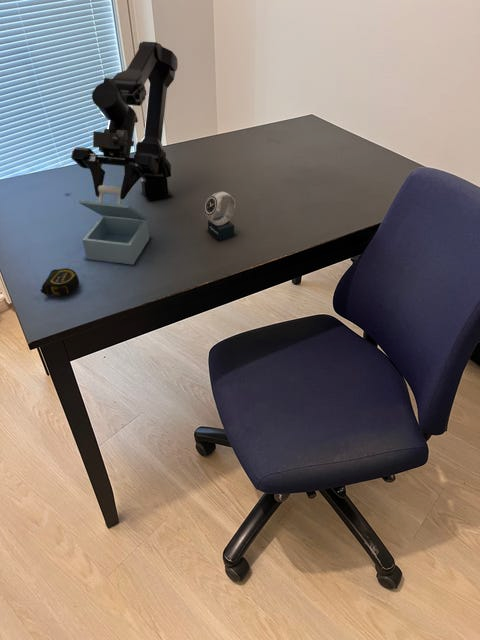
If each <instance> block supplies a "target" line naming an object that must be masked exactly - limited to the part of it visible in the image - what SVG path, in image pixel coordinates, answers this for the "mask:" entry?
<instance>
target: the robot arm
mask: <svg viewBox="0 0 480 640" xmlns="http://www.w3.org/2000/svg"><path fill="white" fill-rule="evenodd" d="M177 71H178V57H177V56H176V53H174V51H172V50H170V49H168V48H166V47H164V46H163V45H162V44H161V43H159V42H156V41H142V42H139V44H138V50H137V51H136V53H135V55H134V56H133V58H132V60H131V61H130V63H129V65H128V66H127V68H126V69H125V70H123V71H119V72H117V73H116V74H115V75H114V76H113V77H104V78H103V82H101V83H99V84H98V85H97V86H96V87H95V88H94V89H93V91H92V93H91V94H92V95H91V99H92V102H93V104H94V105H95V106H96V107H97V109H98V110H99V111H100V113H101V114H102V115H103V117H105V119H106V120H108V125H107V128H105V129H104V130H103V131H93V132H92V147H93V148H98V151H99V152H100V153H102V154H96V153H95V152H94V151H93V150H92V149H91V148H88V147H78V146H76V147H74V148H73V149H72V151H71V155H70V158H71V160H72V161H74V162H75V163H76V164H77V165H78V166H80V168H82V169H86V170H90V174H91V177H92V181H93V187H94V189H93V190H94V194H95V196H96V197H97V198H99V192H98V187H99V185H103V186H104V180H105V175H106V171H105V170H104V169H103V168H102V167H103V165H108V166H118V167H119V166H120V167H123V170H124V175H123V179H122V184H121V187H122V188H121V195H120V198H121V199H122V200H124V199H126V197H127V195H128V194H129V193H130V191H131V190H132V188H133V187H134V186H135V185H136V183H138V181H139V180H140V183H141V193H142V194H143V196H145V198H147V200H148V201H150V202H154V201H158V200H161V199H166V198H170V197H171V196H172V194H171V193H170V192H169V185H168V178H170V177H172V165H171V163H170V161H169V159H168V158H167V152H166V150H165V148H164V146H163V143H162V140H163V130H164V122H165V121H164V120H165V112H166V103H167V102H166V101H167V94H168V93H167V92H168V88H169V87H170V85H172V84H173V82H174V80H175V77H176V72H177ZM147 80H148V82H149V85H148V86H149V87H148V95H147V90H146V86H145V85H146V82H147ZM146 97H147V107H146V114H145V115H146V116H145V125H144V136H143V138H142V139H141V141H137V143H136V144H135V142H134V139H133V138H134V132H135V126H136V123H138V122H139V119H138V116H137V112H136V111H135V110H134V109H133V107H132V106H134V107H135V106H137V107H140V106H142V105H143V104H144V102H145V100H146ZM134 145H135V153H134V155H133V157H131V150H132V147H134ZM141 178H142V179H141Z"/></svg>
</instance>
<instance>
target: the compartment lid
mask: <svg viewBox="0 0 480 640" xmlns="http://www.w3.org/2000/svg"><path fill="white" fill-rule="evenodd" d="M121 188H122V186H112V185H104V184H103V185H99V187H98V192H99V197H98V200H97V201H96V200H95V201H94V200H86V199H79V200H78V203H79V204H80V205H82V206H83V207H85V208H88V209H89V210H91V211H92V212H94V213H97V214H98V215H100V216H101V217H102V216H109V217H119V218H128V219H137V220H146V221H148V220H147V219H148V217H147V216H145V215H143V214H142V213H141V212H139V211H138V210H137V209H136V208H134V207H132V206H130V205H129V204H122V200H123V199H121V198H120V195H121ZM104 195H113V196H117V200H116V203H113V202H105V201H104V202H103V199H104Z"/></svg>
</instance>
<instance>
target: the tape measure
mask: <svg viewBox="0 0 480 640" xmlns="http://www.w3.org/2000/svg"><path fill="white" fill-rule="evenodd" d="M79 285H80V279H79V276H78V274H77V272H76V271H75V270H73V269H72V268H67V267H65V268H57V269H52V270H50V272H49V275H48V276H47V278H46V279H45V281H44V282H43V284H42V286H41V288H40V292H41V294H44V295H45V296H50V297H51V296H53V295H54V296H56V297H63V296H68V295H71V294H73V293H74V292H75V291H77V290H78V288H79Z"/></svg>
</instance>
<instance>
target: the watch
mask: <svg viewBox="0 0 480 640" xmlns="http://www.w3.org/2000/svg"><path fill="white" fill-rule="evenodd" d="M225 197H228V198H229V203H228V204H227V208H226V210H225V212H224V214H223V215H220V216H217V215H218V214H219V213H220V212H221V206H222V201H223V198H225ZM235 199H236V198H234V197H233V196H232V195H231V194H230V193H228V192H226V191H218V192H215V193H213V194H212V195H210V196H208V197H207V198H206V200H205V202H204V205H203V211H204V214H205V218H206V219H207V231H208V232H209V234H211V235H212V236H213V237H215V238H216V239H217V240H218V241H223V240H226V239H228V238H232V237H234V236H235V224H233V223H232V222H231V221H230V220H231V219H232V218H233V216H234V214H235V210H236V208H237V206H236V200H235ZM216 216H217V217H216Z"/></svg>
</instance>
